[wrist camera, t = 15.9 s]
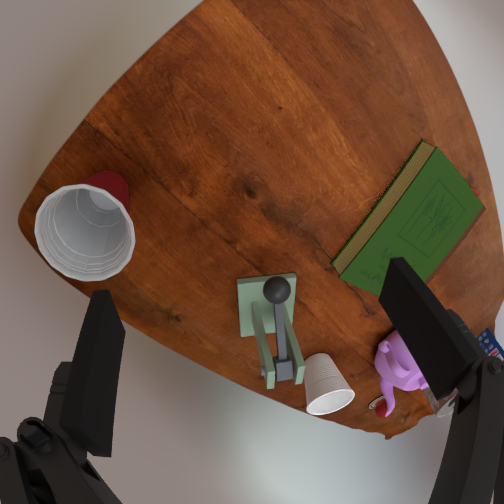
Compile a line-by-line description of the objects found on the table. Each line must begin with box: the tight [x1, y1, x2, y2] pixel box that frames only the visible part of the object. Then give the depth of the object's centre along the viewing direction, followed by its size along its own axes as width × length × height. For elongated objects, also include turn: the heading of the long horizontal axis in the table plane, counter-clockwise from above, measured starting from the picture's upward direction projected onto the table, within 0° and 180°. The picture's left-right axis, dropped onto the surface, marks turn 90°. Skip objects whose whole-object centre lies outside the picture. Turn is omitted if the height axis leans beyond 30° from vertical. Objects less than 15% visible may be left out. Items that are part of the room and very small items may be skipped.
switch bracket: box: [237, 273, 305, 389], centre depth 45 cm, size 12×9×15 cm
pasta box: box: [476, 328, 504, 362], centre depth 72 cm, size 28×8×28 cm, turn 47°
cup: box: [304, 353, 355, 415], centre depth 59 cm, size 10×10×11 cm
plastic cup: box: [35, 170, 135, 281], centre depth 32 cm, size 11×11×12 cm
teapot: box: [375, 330, 429, 417], centre depth 61 cm, size 22×22×14 cm
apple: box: [369, 396, 393, 418], centre depth 81 cm, size 8×8×6 cm
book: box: [330, 140, 486, 296], centre depth 46 cm, size 25×19×4 cm
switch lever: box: [263, 276, 293, 381], centre depth 40 cm, size 14×4×4 cm, turn 1°
